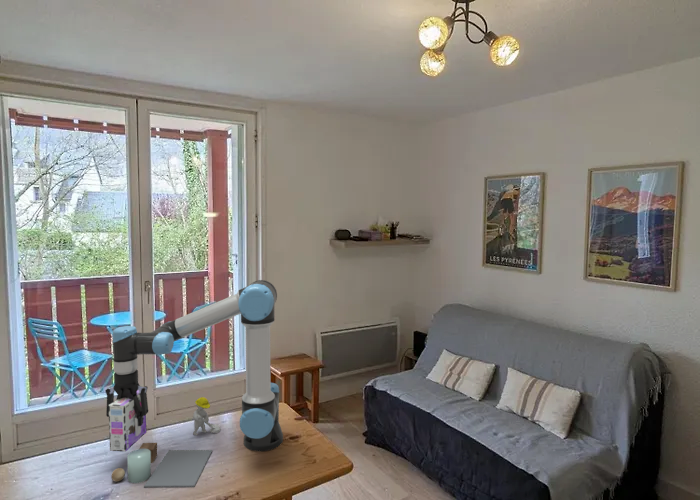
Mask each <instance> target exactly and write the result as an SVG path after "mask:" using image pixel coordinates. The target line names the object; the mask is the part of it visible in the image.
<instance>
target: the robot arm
mask: <svg viewBox="0 0 700 500" xmlns="http://www.w3.org/2000/svg"><path fill="white" fill-rule="evenodd" d="M277 298H278V293H277V289H276V287H275V286H274V284H273V283H271V282H270V281H269V280H265V279H259V280H255V281H253V282H251V283H250V284H249V285H247V286H245V287H243V288H241V289H239V290H237V293H236V294H233V295H231V296H228V297H226V298H224V299H221V300H219V301H216V302H214V303H212V304H210V305H206V306H204V307H202V308H200V309H198V310H195V311H192V312H191V313H188V314H185V315H183V316H181V317H178V318H176V319H173V320H171V321H170V320H169V321H167V322H164V323H163V324H161V325H160V326H159V327H158V328H156V329H154V330H153V331H151V332H138V330H137V327H136V326H134V325H133V326H132V325H127V326H126V325H124V326H119V327H116V328H114V329H113V331H112V341H111V343H112V354H113V355H112V356H113V357H112V358H113V359H112V360H113V372H114V374H113V383H114V386H109V387H108V388H106V389H105V395H106V415H105V416H106V417H108V418H109V404H111V403H113V402H114V401H116V400H118V399H121V398H125V397H127V398H129V399H133V400H134V410H135V413H136V415H137V417H136V418H135V436H138V435H139V434H140V433H141V425H142V424H143V416H145V415H146V416H147V414H148V413H149V405H148V404H149V403H148V396H147V395H148V394H147V392H148V386H147V385H145V386H141V385H140V384H139V371H138V368H139V366H138V365H139V364H138V361H139V360H138V356H139V355H158V356H161V355H168V354H170V353H171V352H172V350H173V347H174V342H178V341H180V340H181V339H183V338H186V337H188V336H190V335H194V334H196V333H197V332H200V331H202V330H205V329H208V328H209V327H212V326H214V325H216V324H217V325H218V324H219V323H222V322H224V321H226V320H228V319H232V318H234V317H236V316H238V315H240V324H242V325H243V326H244V327H245V384H246V385H245V391H246V392H245V393H244V394H243V395H242V396H241V415H240V417H239V428H240V431H241V432H242V433H243V434H244V437H243V445H244V447H245V448H246V449H247V450H250V451H252V452H268V450H269V451H271V449H272V450H275V449H277V448H279V447H280V446H281V445H282V444H283V443H284V434H283V431H282V427H281V425H280V422H279V418H280V416H279V411H280V409H279V407H280V405H279V402H280V401H279V400H280V398H279V397H280V388H279V385H278V384H277V383H274V382H272V381H271V378H272V377H271V326H272V325H273V324H274V323H275V320H276V319H275V317H276V316H275V315H276V314H275V313H276V312H275V310H276V309H275V307H276V306H275V305H276V303H277ZM137 390H139V393H140V400H141V405H140V403H139V400H138V397H137V396H138V395H137ZM115 393H116V395H117V397H116V400H115V398H114V397H115ZM281 443H282V444H281ZM280 444H281V445H280ZM279 445H280V446H279ZM278 446H279V447H278ZM276 447H277V448H276ZM274 448H275V449H274Z"/></svg>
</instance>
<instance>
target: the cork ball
mask: <svg viewBox="0 0 700 500" xmlns="http://www.w3.org/2000/svg"><path fill="white" fill-rule="evenodd" d="M125 475H126V471H125V469H124V468H122V467H118V468H116V469H114V470H113V471H112V473H111V476H110V477H111V480H112V481H114V482H115V483H116V482H121V481H122V480H124V478H125Z"/></svg>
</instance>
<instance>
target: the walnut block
mask: <svg viewBox="0 0 700 500" xmlns="http://www.w3.org/2000/svg"><path fill="white" fill-rule="evenodd" d="M138 449H149V450H150V451H151V464H154V462H155V460H156V459H157V457H158V442H143V443H142V444H141V445H140V446H139V448H138Z"/></svg>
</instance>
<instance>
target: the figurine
mask: <svg viewBox="0 0 700 500" xmlns="http://www.w3.org/2000/svg"><path fill="white" fill-rule="evenodd" d="M194 403H195V405H196V407H197V408H196V409H195V410H194V412H193V413H192V414H193V415H192V418H193V423H194V424H193V425H194V429H193V432H192V435H193V436H199V434H198V431H199V429H200V428H201V432H202V433H203V434H206V433H208V431H207V429H206V425H207V426H208V427H210V429H209V432H210V433H211V434H218V433H220V431H221V430H222V429H221V426H220V425H219V424H216V423H215V424H213V423H210V422H209V421H210V419H209V414H208V412H207V411H206V410H205V409H209V408H210V407H211V405H210V403H209V400H208V399H207V398H206V397H204V396H202V397H198V399H196V400H195V402H194Z"/></svg>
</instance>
